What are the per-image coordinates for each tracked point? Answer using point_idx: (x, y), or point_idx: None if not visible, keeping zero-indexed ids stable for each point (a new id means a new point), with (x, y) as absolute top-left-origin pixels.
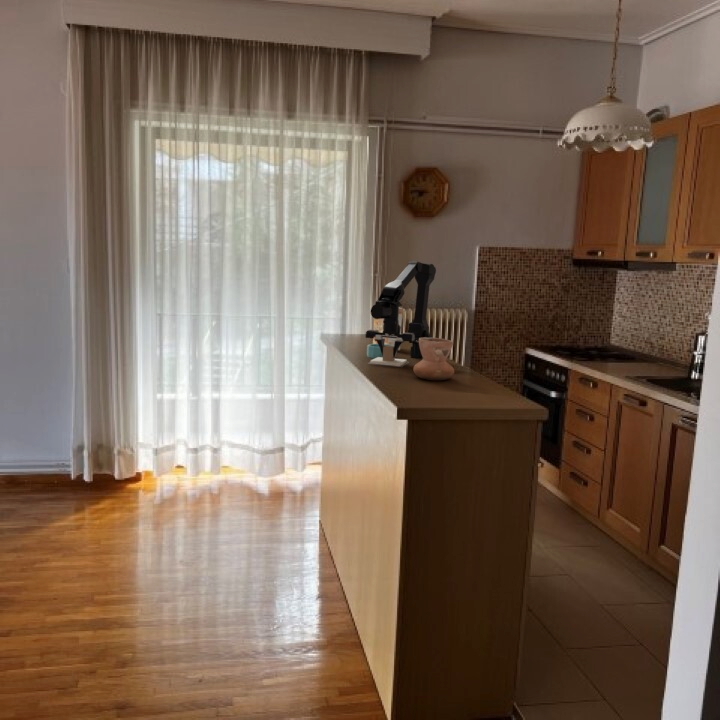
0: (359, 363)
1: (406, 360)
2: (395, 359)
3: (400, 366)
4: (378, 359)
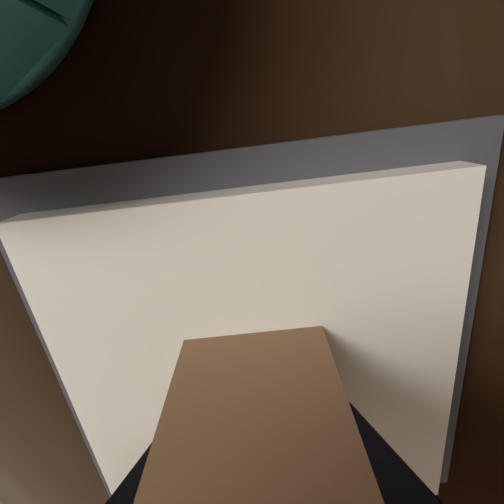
0: (34, 483)
1: (475, 182)
2: (315, 272)
3: None
4: (134, 407)
